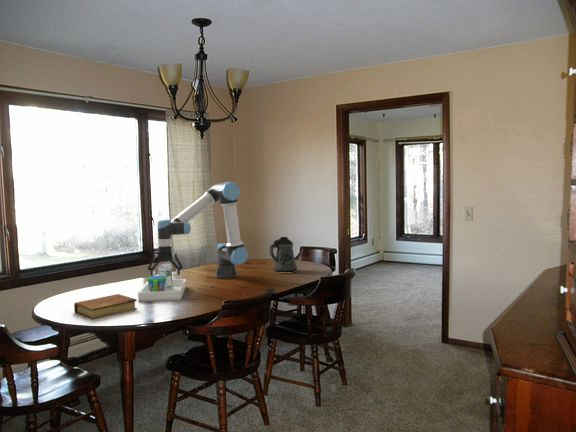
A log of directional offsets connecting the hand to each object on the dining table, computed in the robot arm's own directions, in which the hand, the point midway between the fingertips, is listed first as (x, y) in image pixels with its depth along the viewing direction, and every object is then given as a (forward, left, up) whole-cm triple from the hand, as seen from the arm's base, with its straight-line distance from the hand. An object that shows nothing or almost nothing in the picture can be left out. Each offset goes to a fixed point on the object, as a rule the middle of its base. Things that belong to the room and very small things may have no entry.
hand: (165, 281), depth 273 cm
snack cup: (+3, +16, -5) cm, 17 cm away
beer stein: (-77, -44, -6) cm, 89 cm away
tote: (0, +10, -5) cm, 11 cm away
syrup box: (0, 0, -5) cm, 5 cm away
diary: (+24, +42, -6) cm, 49 cm away
